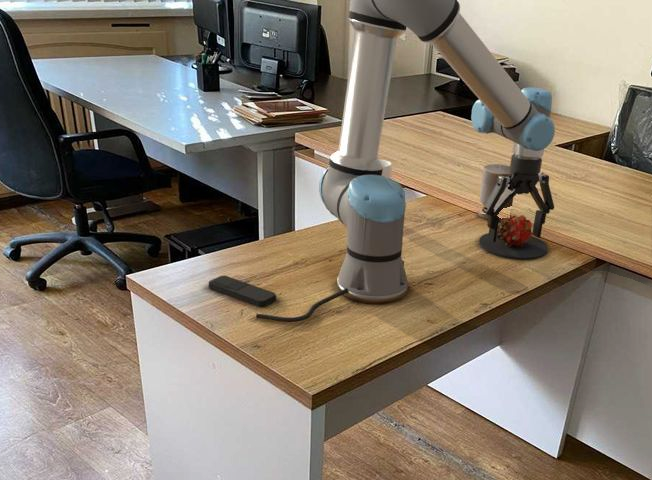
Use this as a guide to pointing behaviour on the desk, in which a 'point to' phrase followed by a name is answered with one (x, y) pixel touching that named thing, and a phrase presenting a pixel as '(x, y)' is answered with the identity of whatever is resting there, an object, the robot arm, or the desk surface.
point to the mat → (514, 248)
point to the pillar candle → (492, 183)
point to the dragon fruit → (514, 230)
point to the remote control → (242, 291)
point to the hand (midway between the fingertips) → (514, 237)
